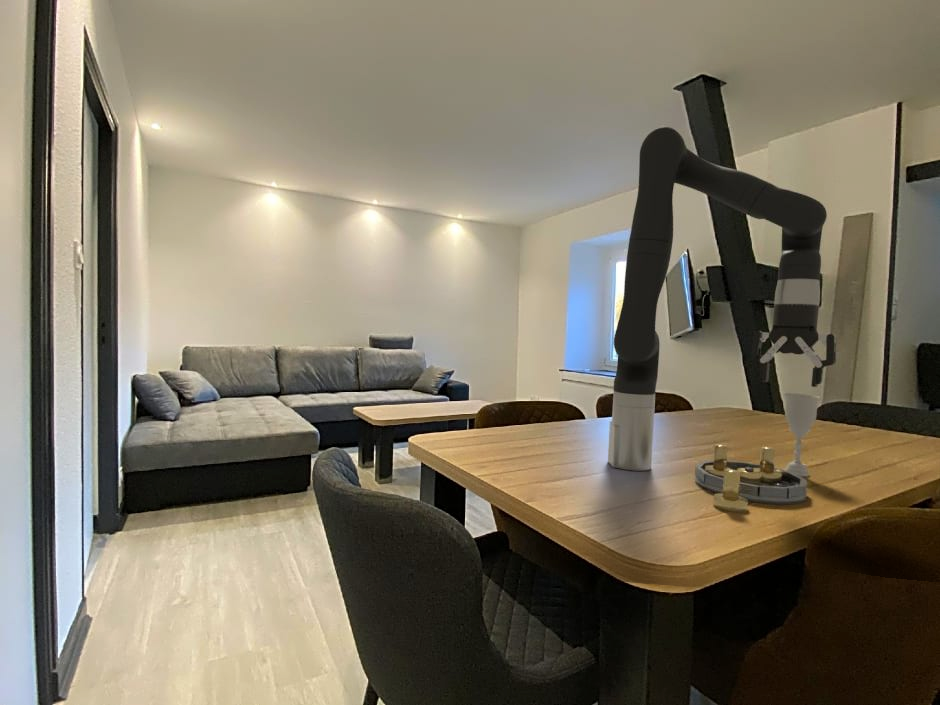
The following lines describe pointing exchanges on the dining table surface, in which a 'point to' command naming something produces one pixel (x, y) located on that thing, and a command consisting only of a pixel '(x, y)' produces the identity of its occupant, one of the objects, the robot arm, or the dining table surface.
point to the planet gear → (730, 494)
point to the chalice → (800, 425)
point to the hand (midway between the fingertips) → (789, 384)
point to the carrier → (753, 478)
